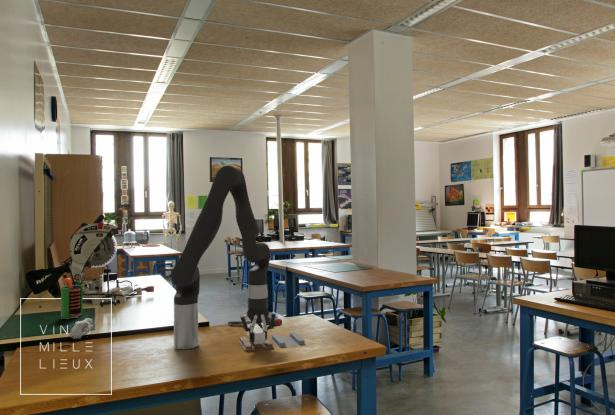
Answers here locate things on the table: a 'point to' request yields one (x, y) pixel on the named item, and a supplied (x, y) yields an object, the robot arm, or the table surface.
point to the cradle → (254, 345)
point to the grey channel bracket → (288, 340)
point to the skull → (81, 328)
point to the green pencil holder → (71, 299)
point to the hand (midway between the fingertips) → (258, 340)
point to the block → (257, 334)
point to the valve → (276, 323)
